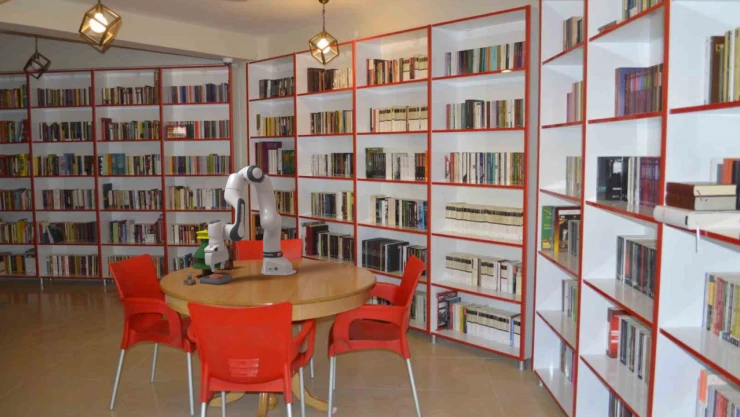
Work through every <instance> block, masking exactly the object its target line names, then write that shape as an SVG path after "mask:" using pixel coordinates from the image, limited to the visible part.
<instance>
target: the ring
mask: <svg viewBox="0 0 740 417" xmlns="http://www.w3.org/2000/svg"><path fill="white" fill-rule="evenodd" d="M214 274H215V275H211V276H209V279H222V278H224V276H223V275H224V274H218V275H217V274H216V273H214Z"/></svg>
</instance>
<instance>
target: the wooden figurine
mask: <svg viewBox="0 0 740 417" xmlns="http://www.w3.org/2000/svg"><path fill="white" fill-rule="evenodd" d="M224 245H225V246H226V247H227V250H228V256H229V258H228V260H226V261H225V264H224V268H223V269H221V268H216V270H217V271H229V270H231V271H232V270H234V259H235V258H234V253H235V252H234V247H233V246H231V245H230V244H229V243H227V242H224Z"/></svg>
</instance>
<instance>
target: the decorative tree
mask: <svg viewBox="0 0 740 417" xmlns="http://www.w3.org/2000/svg"><path fill="white" fill-rule="evenodd" d="M195 234H197V235H198V236H197V237H196V239H203V240H202V242H201V243H200V245H199V246H198V248H197V250H196V251H195V253H194V254H193V256H192V258H196V260H195V263H194V264H193V265H192V267H191V268H192V269H195V270H201V278H203V277H206V276H209V275H212V274H215V272H212V269H211V267H210V265H206V263H205V253H206V252H204V249H205V248H206V247H207V246H208V245H209V236H208V229H204V230H200V231H196V232H195ZM220 266H221V262H220V263H217V264H214V268H215V269H216V268H220ZM216 270H217V269H216Z"/></svg>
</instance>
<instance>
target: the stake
mask: <svg viewBox="0 0 740 417" xmlns="http://www.w3.org/2000/svg"><path fill="white" fill-rule="evenodd" d="M186 274H187V275H186V278H184V279H183V280H182V281H183V286H194V285H196V284H197V280H196V278H192V272H191V271H189V272H187V273H186ZM193 284H194V285H193Z"/></svg>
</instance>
